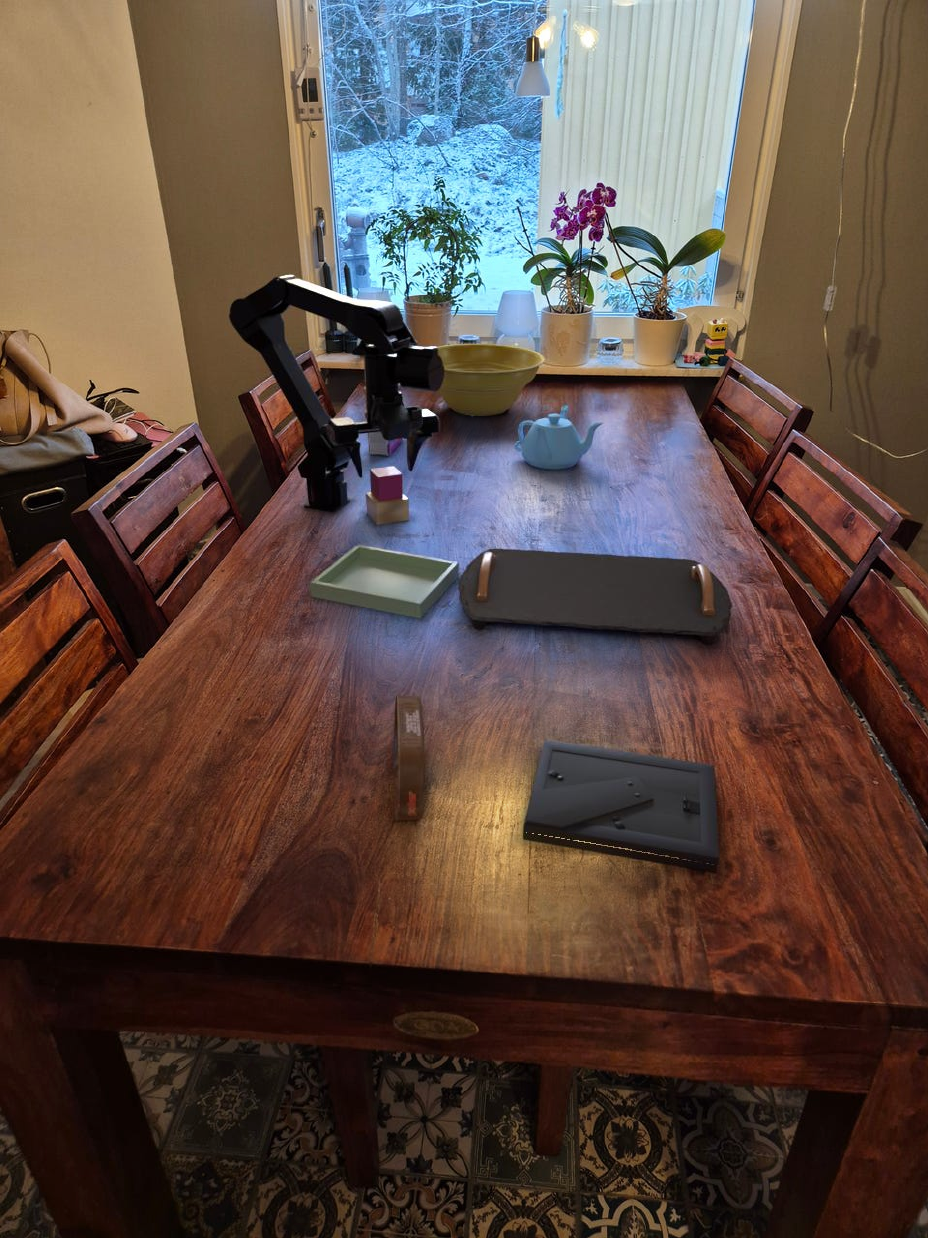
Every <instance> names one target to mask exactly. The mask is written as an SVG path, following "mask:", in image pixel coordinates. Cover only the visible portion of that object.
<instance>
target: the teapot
mask: <svg viewBox="0 0 928 1238" xmlns="http://www.w3.org/2000/svg"><path fill="white" fill-rule="evenodd" d="M568 410H569V405H568V404H563V405H562V407H561V408H560V414H559V413H549V414H547V417H542V418H539V419H537V420H535V422H534V421H533V420H529V419H528V420H523V421H521V422H520V423H519V425H518V427H517V433H518V439H519V440H517V441H516V442H515V443H514V449H515V450H516V451H517V452H520V454H521V456H522V458H523V459H524V461H525V462H526V463H527V464H528V465H530V466H532V467H534V468H539V469H544V470H564V469H570V468H572V467H574V466H575V465H576V464H578V463H579V461H581V459H582V458H583V456H584V455H586V453H587V452H589V450H590V449H591V448H592V445H593V440H594V435H595V432H596V430H598V429H597V428H598V427H600V426H602V425H603V424H604V422H595V423H592V424H590V426H589V427H588V429H587V432H586V436H585V438H584V440H582V439H581V436H580V434H579V433H578V430H577V429H576V427H575V426H574V425H575V424H573V422H572V421H570V420H568ZM525 425H527V426H531V427H530V428H529V430H528V431H527V432H526V435H525V437H524V430H523V428H524V426H525ZM519 444H520V445H519Z"/></svg>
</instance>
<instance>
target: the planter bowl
mask: <svg viewBox="0 0 928 1238" xmlns="http://www.w3.org/2000/svg"><path fill="white" fill-rule="evenodd" d="M436 347H437V348H438V355H439V356H440V357H441V359H442V362H443V366H444V368H445V371H444V379H443V383H442V385H441V387H440V389H439V390H438V393H439V394H440V396H441V398H442V400H443V401H444V403H445V404H446V405H447V407H448V408H450V409H452V410H453V412H456V413H458V414H460V415H461V414H462V415H465V416H473V417H487V416H488V417H489V416H497V415H500V414H503V413H505V412H506V411H507V410H508V409H509V410H510V408H512V407H513V405H514V404H515V403H516V402H517V400H518V398H519V397H520V395H521V392H522V391H523V390H524V389H523V388H524V387H525V386H526V385H528V384H529V383H531V382H532V381H533V380H534V379H535V377H536V375H537V373H538V372H539V371H538V370H539V369H540V366H542V365H543V364H544V363H545V357H544V356H543V355H542V354H541V353H539V352H537V351H534V350H531V349H527V348H524V347H519V346H513V345H505V344H494V343H457V344H448V345H440V346H436Z"/></svg>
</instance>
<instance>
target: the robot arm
mask: <svg viewBox="0 0 928 1238" xmlns="http://www.w3.org/2000/svg"><path fill="white" fill-rule="evenodd" d="M291 307H293V308H296V309H299V310H302V311H305V312H307V313H310V314H313V315H315V316H318V317H321V318H323V319H326V320H329V321H332V322H334V323H337V324H339V325H341V326H342V327H345V328H346V330H347V331H348V332H349V333H350V334H351V335H352V336H354V337H356V338H357V339H359V340H360V341H359V343H358V344H357V346H355V347H354V348H353V349H352V350H351V354H352V355H353V356H360V357H363V366H364V380H365V382H364V387H363V394H364V395H366V398H365V410H366V411H364V418H365V419H366V421H357V422H355V421H354V420H353V419H352V418H351V417H349V416H345V417H336V418H334V417H332V416H330V415H329V414H328V413H327V412H326V409H325V408H324V406H323V405H322V403H321V401H320V399H319V397H318V396H317V394H316V392H315V390H314V389H313V387H312V385H311V383H310V381H309V379H308V378H307V376H306V374H305V372H304V371H303V369H302V367H301V365H300V363H299V362H298V360H297V358H296V356H295V355H294V353H293V352H292V349H291V348H290V346H289V344H288V343H287V340H286V332H285V329H286V328H285V321H284V319H283V316H282V314H284V313H285V312H286V311H288V310H289V309H290V308H291ZM228 319H229V321H230V324H231V326H232V328H233V329H234V330H235V332H237V334H238V335H239V337H240V338H241V339H242V340H243V342H244V343H245V344H247V345H249V346H250V347H251V348H252V349H254V350H255V351H257V352H258V354H260V356H261V358H262V359H263V361H264V362H265V364H266V366H267V368H268V369H269V371H270V372H271V374H272V377H273V378H274V379H275V382H276V383H277V385H278V387H279V389H280V390H281V392H282V394H283V395H284V397H285V399H286V401H287V403H288V404H289V406H290V408H291V410H292V411H293V413H294V414H295V416H296V418H297V420H298V422H299V423H300V425H301V427H302V436H303V437H302V439H303V440H302V441H303V446H304V449H305V451H306V454H307V455H306V456H305V457H304V458H303V460H302V461H301V462H300V463H299V464H298V465H297V467H296V468H297V470H298V473H299V475H300V476H299V477H300V478H301V479H305V481H306V482H305V483H306V493H307V502H305V503H304V504H303V508H307V509H311V510H312V509H313V510H319V511H324V512H329V513H331V512H332V513H334V512H336V511H338V510H339V509H340V508H342V507H344V506H345V505H346V504H348V503H349V502H350V501H351V498H350V497H348V485H347V484H348V483H347V480H345V472H344V471H343V470H345V469H347V468H348V467H349V464H350V460H351V463H352V464H353V467H354V469H355V472H356V473H357V477H358V478H359V479H363V465H362V463H363V462H362V456H361V445H362V443H361V442H360V441H359V440H358V438H359V437H360V435H361V434H368V433H372V432H381V434H382V437H383V438H384V439H385V440H387V441H392V440H394V439H401V438H402V439H404V440H406V464H407V470H408V471H409V472H413V470H414V467H415V465H416V461H417V459H418V456H419V452H420V450H421V448H422V447H423V444H424V442H426V441H427V440H428V439H431V438H433V436H434V434H436V433H440V432H441V420H440V417H439V416H437V415H436V414H435V413H434V412H432V411H430V410H429V409H428V408H421V406H420V405H410V406H405V404H404V400H403V399H404V398H403V393H402V392H401V387H403V388H405V389H411V390H420V391H426V392H439V389H440V387H441V385H442V383H443V379H444V371H445V368H444V366H443V362H442V359H441V357H440V356H439V355H438V348H437V347H438V346H419V345H418V342H417V340H416V339H415V337H414V335H413V334H412V332H411V330H410V329H409V326H407V324H406V322H405V321H404V317H403V314H402V311H401V309H400V307H399V306H398V305H397V304H394V303H393V302H389V301H383V300H377V299H376V300H375V299H360V298H354V297H351V296H349V295H344V294H342V293H340V292H337V291H333V290H331V289H328V288H325V287H323V286H320V285H318V284H315V283H311V282H309V281H306V280H304V279H301V278H299V277H297V275H294V274H286V275H280V276H274V277H273V278H272V279H271V280H270V281H269V282H267V283H266V284H265V285H264V286H261V287H260V288H259V289H257V290H255V291H253V292H251V293H250V294H248V295H247V296H245V297H240V298H237V299H235V300H233V301H232V303H231V305H230V308H229V314H228ZM394 339H396V340H394ZM391 340H393V341H391Z"/></svg>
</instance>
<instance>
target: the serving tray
mask: <svg viewBox="0 0 928 1238" xmlns="http://www.w3.org/2000/svg"><path fill="white" fill-rule="evenodd" d="M457 588H458V592H459V601H460V604H461V605H462V606H463V609H464V611H465V613H466V614H467V615H468V616H469V618H471V619H472V620H471V622H472V626H473V627H474V629H475V630H477V631H482V630H484V629H486V626H487V625H488V623H489V622H491V623H507V624H520V625H521V624H522V625H533V626H542V627H543V626H544V627H547V626H548V627H572V628H577V629H589V630H590V629H591V630H609V631H610V630H611V631H625V632H636V633H643V634H644V633H663V634H675V635H687V636H688V635H690V636H700V640H701V642H702V644H703V645H704V646H705V645H706V646H712V645H713V644H714V643H715V642H716V641H717V640H718V636H721V635H722V634H723V633H724V631H725V629H726V626H727V625H728V623H729V622H730V621H731V616H732V612H731V610H732V607H733V602H732V599H731V598H730V594H729V592H728V589H727V588H726V587H725V585H724V584H723V582H722V581H721V580H720V579H719V578H718V577H717V576H716V575H715V574H714V573H713V572H712V571H711V570H709V567H708V566H707V565H706V564H703V563H701V562H699V561H696V560H694V559H688V558H671V557H657V556H656V557H654V556H653V557H652V556H639V555H619V554H618V555H617V554H603V553H600V554H599V553H583V552H567V551H547V550H529V549H514V548H489V549H486V550H484V551H482V552H481V553H479V554H478V555H477V556H476V557H475V558H473V559H472V560H470V562H469V564H467V566H466V568H465V570H464V571H463V572H462V574H461V575H460V577H459V580H458V587H457Z"/></svg>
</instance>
